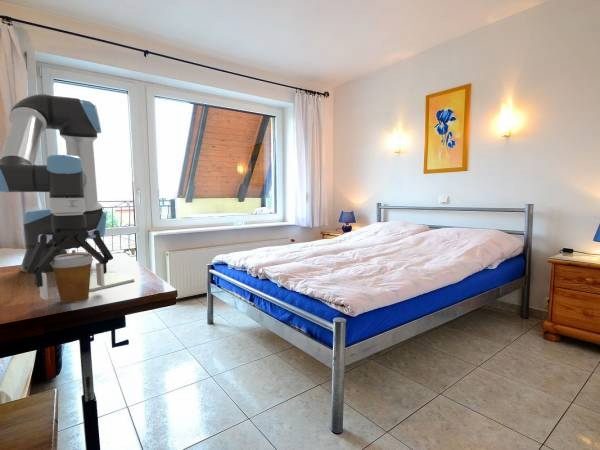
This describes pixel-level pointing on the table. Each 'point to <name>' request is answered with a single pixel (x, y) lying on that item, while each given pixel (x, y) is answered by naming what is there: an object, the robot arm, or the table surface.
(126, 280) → the sage board
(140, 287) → the table surface
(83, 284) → the disposable coffee cup
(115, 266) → the table surface
